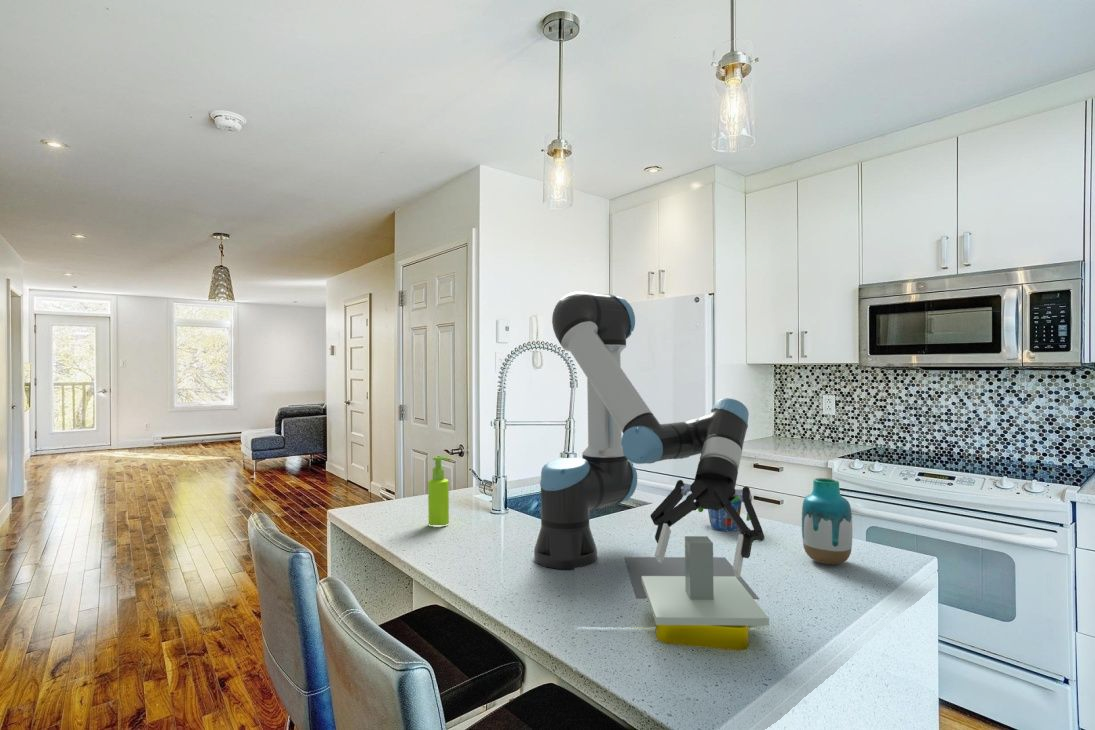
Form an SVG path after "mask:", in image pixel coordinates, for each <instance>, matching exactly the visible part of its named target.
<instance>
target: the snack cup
mask: <svg viewBox="0 0 1095 730" xmlns="http://www.w3.org/2000/svg"><path fill="white" fill-rule="evenodd" d="M730 503H731V504H732V506H733V507H734V509H735V510H736V511H737V513H738V514H739V516H740V517H741V511H742V510H741V509H742V503H743V502H741V501H740V500H739V498H738V497H735V499H733V500H732V501H731V502H730ZM697 511H698V512H699V513H702V512H704V509H702V507H699V508H698V509H697ZM707 511H708V518H709V524H710V527H711V529H714V530H717V531H725V532H731V531H735V530H738V528H737V527H736V525H735V524H734V522H733V521H732V520H731V518H730V517H729V515H727V513H726V512H725V510H724V509H720V510H719V511H716V510H712V509H707ZM746 513H747V512H746ZM746 521H747V522H749V521H750V518H749V516H748V513H747V514H746Z"/></svg>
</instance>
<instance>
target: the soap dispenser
mask: <svg viewBox="0 0 1095 730" xmlns="http://www.w3.org/2000/svg"><path fill="white" fill-rule="evenodd" d="M452 459H453V458H452V457H449V456H435V457H433V458H432V460H433V461H434V462H435V467H434V468H432V479H429V480H428V483H427V485H428V486H427V487H428V492H427V493H428V495H427V496H428V497H427V499H428V525H429V524H430V525H446V524H448V523H449V524H450V513H449V511H450V506H449V505H450V503H449V502H450V498H449V495H450V492H449V491H450V489H449V487H450V486H449V483H450V482H449V481H450V480H449V479H447V478H445V468H444V467H442V461H451V460H452Z"/></svg>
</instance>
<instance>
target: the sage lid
mask: <svg viewBox="0 0 1095 730" xmlns="http://www.w3.org/2000/svg"><path fill="white" fill-rule="evenodd" d="M684 555H685V556H684V557H685V576H641V582H642V585H643V588H644V591H645V594H646V597H647V598H646V599H647V602H648V605H649V607H650V610H651V611H650V612H651V614H652V617H653V619H654V622H655V626H656V625H745V626H748V627H749V626H753V627H754V626H760V627H761V626H766V627H768V626H770V618H769V616H768V615H767V614H766V612H765V611H764V610H763V609H762V608H761V606H760V605H759V604H758V603H757V602H756V599H753V598H752V596H751V595H750V594H749V593H748V592H747V590H746V589H745V588H744V587H743V585H742V584H741V583H740V582H739V580H738V579H737V578H736V577H735V576H713V557H714V543H713V541H712V540H711V539H710V538H709V537H708V536H706V535H704V536H703V535H700V536H699V535H698V536H696V535H689V536H688V535H687V536H686V535H685V536H684Z"/></svg>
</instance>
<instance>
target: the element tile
mask: <svg viewBox="0 0 1095 730" xmlns="http://www.w3.org/2000/svg"><path fill="white" fill-rule="evenodd" d="M749 632H750V630H749V626H745V625H656V624H655V638H656V639H657V640H658V641H659V642H661V643H664V644H669V645H671V644H672V645H681V646H690V647H699V648H710V649H718V650H719V649H720V650H727V651H728V650H729V651H745V650H748V649H749V646H750V645H749V641H750V640H749V637H750V636H749V635H750V634H749Z"/></svg>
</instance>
